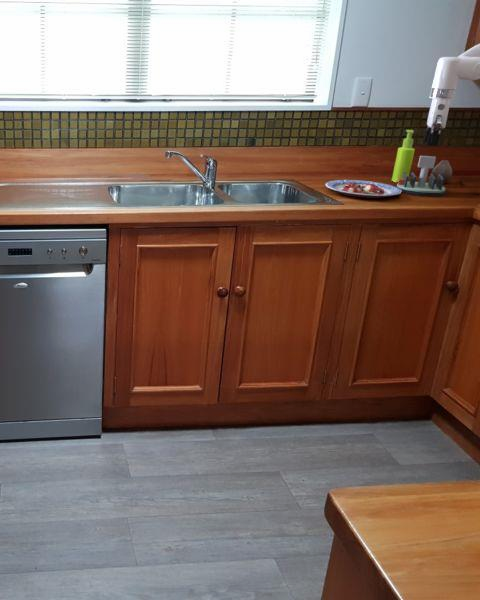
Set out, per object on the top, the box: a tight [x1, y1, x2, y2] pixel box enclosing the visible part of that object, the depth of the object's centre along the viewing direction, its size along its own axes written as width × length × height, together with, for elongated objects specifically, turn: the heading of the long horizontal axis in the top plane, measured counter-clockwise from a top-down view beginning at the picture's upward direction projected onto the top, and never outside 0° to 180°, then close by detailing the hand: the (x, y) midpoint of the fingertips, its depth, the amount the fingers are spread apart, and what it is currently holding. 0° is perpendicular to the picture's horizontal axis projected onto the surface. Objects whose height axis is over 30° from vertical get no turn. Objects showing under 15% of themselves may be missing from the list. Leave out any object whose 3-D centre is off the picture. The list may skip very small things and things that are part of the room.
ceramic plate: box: [325, 179, 402, 199], centre depth 224 cm, size 26×26×3 cm
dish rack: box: [396, 155, 446, 193], centre depth 225 cm, size 16×16×12 cm
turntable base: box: [395, 185, 447, 198], centre depth 228 cm, size 17×17×1 cm
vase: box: [431, 159, 453, 185], centre depth 242 cm, size 7×7×9 cm
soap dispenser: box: [391, 129, 416, 183], centre depth 241 cm, size 6×7×20 cm
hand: (430, 143), depth 221 cm, fingers open, 9 cm apart
